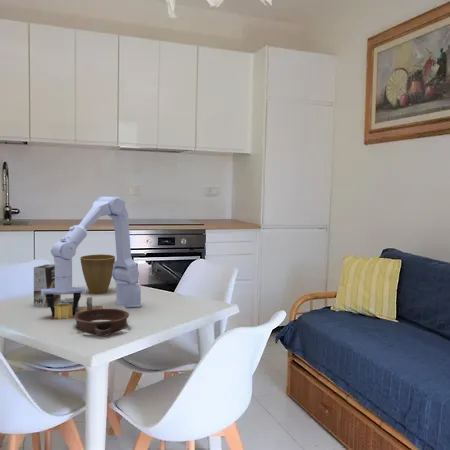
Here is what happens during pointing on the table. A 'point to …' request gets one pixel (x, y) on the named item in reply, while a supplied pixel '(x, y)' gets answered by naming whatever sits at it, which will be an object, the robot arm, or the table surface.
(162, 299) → the table surface
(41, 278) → the coffee box
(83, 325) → the dish
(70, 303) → the slate gear
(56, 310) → the ochre gear
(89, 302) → the gear board
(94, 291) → the plant pot
